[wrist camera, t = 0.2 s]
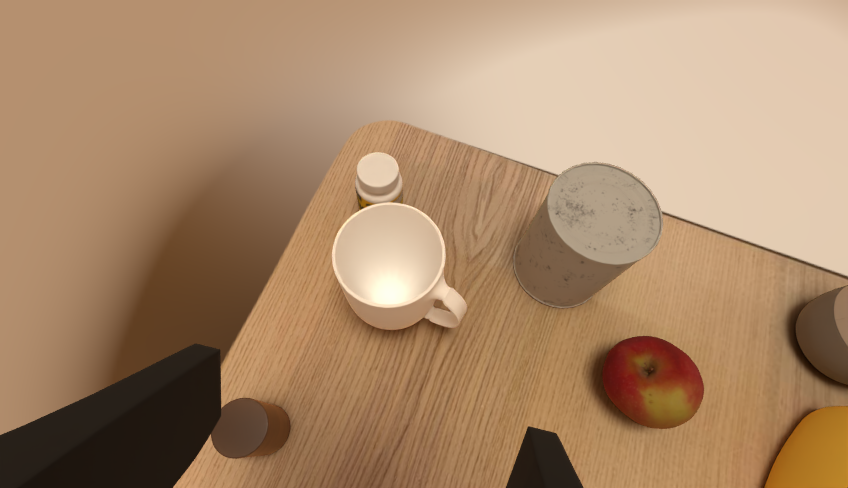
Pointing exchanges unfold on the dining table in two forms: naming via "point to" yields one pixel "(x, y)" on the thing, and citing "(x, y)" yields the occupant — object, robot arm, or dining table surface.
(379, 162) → the supplement bottle
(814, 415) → the teapot
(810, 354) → the smart speaker
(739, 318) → the dining table surface
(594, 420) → the dining table surface
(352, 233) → the mug
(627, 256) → the speckled concrete cylinder
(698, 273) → the dining table surface
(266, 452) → the stand
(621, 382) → the apple
